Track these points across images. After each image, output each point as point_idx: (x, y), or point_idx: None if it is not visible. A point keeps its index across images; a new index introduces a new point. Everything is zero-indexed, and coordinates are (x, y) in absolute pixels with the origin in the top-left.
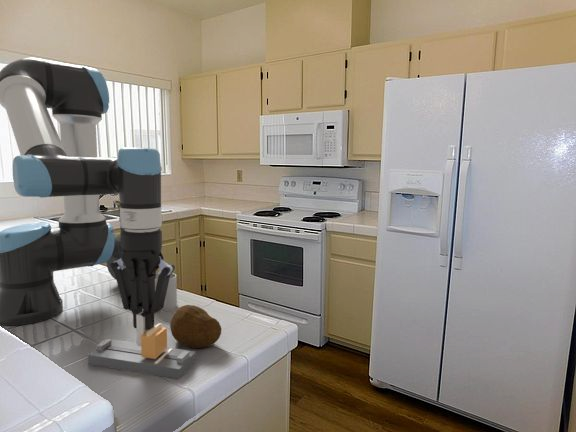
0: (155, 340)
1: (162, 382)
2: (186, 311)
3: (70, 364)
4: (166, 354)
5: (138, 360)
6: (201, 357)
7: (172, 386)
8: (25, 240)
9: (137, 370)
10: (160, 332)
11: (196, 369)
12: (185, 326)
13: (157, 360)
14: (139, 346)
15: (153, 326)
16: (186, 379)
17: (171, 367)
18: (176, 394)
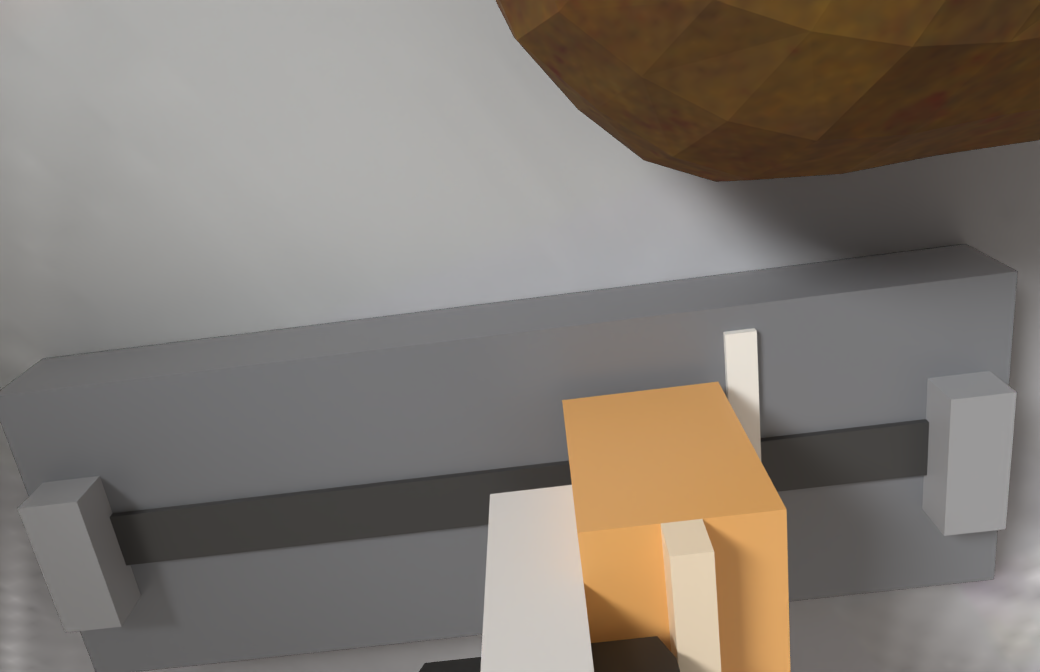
0: None
1: (846, 599)
2: (914, 28)
3: (19, 662)
4: (760, 446)
5: None
6: (995, 166)
7: (944, 610)
8: None
9: None
10: (783, 634)
11: (1031, 365)
12: (882, 159)
13: None
14: (387, 405)
15: (666, 655)
16: (1008, 510)
17: (915, 581)
18: (1016, 666)
